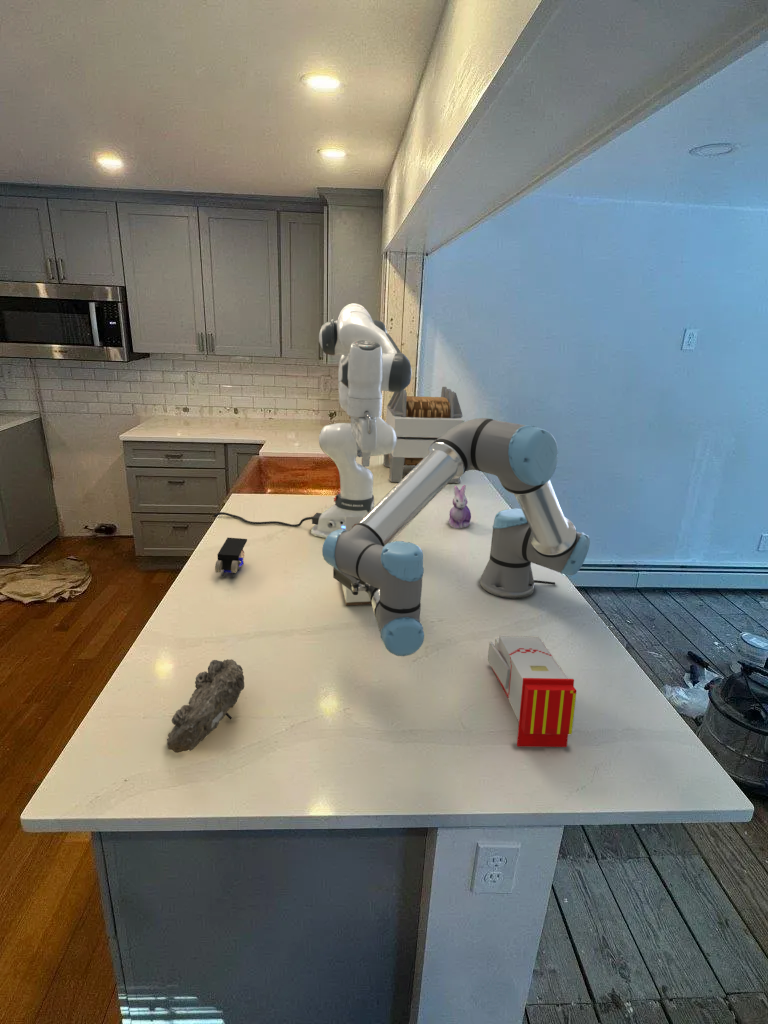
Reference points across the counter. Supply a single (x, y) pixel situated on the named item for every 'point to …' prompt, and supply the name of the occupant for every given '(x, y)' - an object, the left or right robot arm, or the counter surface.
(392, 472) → the transformer
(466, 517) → the figurine
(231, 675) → the fossil
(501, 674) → the toy
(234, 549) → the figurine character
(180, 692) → the counter surface
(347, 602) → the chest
